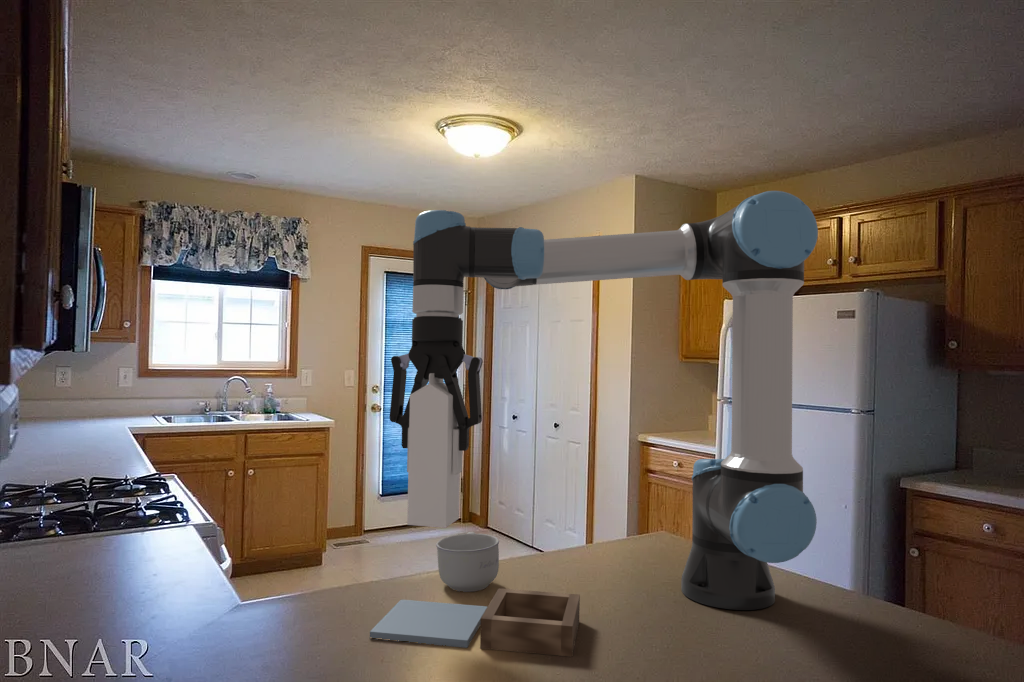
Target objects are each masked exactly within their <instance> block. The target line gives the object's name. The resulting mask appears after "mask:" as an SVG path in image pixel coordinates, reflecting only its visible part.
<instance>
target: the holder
mask: <svg viewBox="0 0 1024 682" xmlns="http://www.w3.org/2000/svg"><path fill="white" fill-rule="evenodd" d="M580 598H581V595H580V594H577V593H564V592H553V591H552V592H551V591H538V590H524V589H523V590H522V589H514V588H512V589H510V588H497V591H496V592H495V594H494V595H493V597H492V599H491V600H490V602H489V604H488V605H487V609H486V610H485V612H484V614H483V616H482V617H481V625H480V634H479V635H480V637H479V639H480V644H479V646H480V647H479V649H484V650H485V649H486V650H495V651H496V650H497V651H506V652H517V653H529V654H539V655H551V656H559V657H570V658H573V655H574V651H575V650H574V649H575V644H576V640H577V635H578V629H579V625H580V609H581V608H580V606H581V605H580V602H581V601H580V600H581V599H580Z"/></svg>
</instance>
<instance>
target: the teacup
mask: <svg viewBox="0 0 1024 682" xmlns="http://www.w3.org/2000/svg"><path fill="white" fill-rule="evenodd" d="M499 543H500V539H499V538H498V537H496V536H494V535H491V534H486V533H476V532H475V531H468V532H467V533H461V534H459V533H458V534H454V535H449V536H445V537H444V538H441V539H439V540H437V542H436V543H435V546H436V554H437V555H436V556H437V567H438V575H439V577H440V579H441V581H442V582H443V583H444V584H445V585H446V586H448V588H449V589H451V588H452V589H451V590H453V589H454V590H453V591H455V590H457V591H456V592H460V591H463V592H464V593H469V592H470V593H472V592H477V591H482V590H484V589H486V588H487V587H488V586H489V585H490V584H491V583H492V582H494V580H496V579H497V577H498V576H497V575H498V573H499V568H500V563H499V559H500V555H499V554H500V553H499V552H500V551H499V549H500V548H499ZM463 592H462V593H463Z"/></svg>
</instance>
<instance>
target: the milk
mask: <svg viewBox="0 0 1024 682" xmlns="http://www.w3.org/2000/svg"><path fill="white" fill-rule="evenodd" d="M410 394H411V393H410ZM410 394H409V397H410V417H409V466H408V472H407V474H408V476H407V477H408V479H407V481H408V482H407V520H406V521H407V522H406V523H407V524H406V525H407V526H418V527H429V528H430V527H431V528H441V529H442V528H444V529H446V528H447V527H449V526H450V525H452V524H453V523H455V522H456V521H457V520H459V519H460V477H461V472H460V473H459V474H452V465H453V429H456V428H458V427H457V426H458V423H457V420H456V416H455V413H454V409H453V395H451V394H450V393H449V392H448V389H447V386H446V384H445V382H444V379H439V378H436V377H434V373H430V374H429V382H428V383H427V385H426V386H424V387H422V388H421V389H419V390H417V391H416V392H414V393H412V394H411V395H410Z"/></svg>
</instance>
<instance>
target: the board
mask: <svg viewBox="0 0 1024 682" xmlns="http://www.w3.org/2000/svg"><path fill="white" fill-rule="evenodd" d="M487 607H488V605H486V606H485V605H475V604H474V605H473V604H460V603H451V602H447V603H446V602H436V601H423V600H412V599H400V600H399V601H398V602H397V603H396V604H395V605H394V606H393V607H392V608H390V610H389V611H388V612H387V613H386V615H384V616H383V617H382V618H381V619H380V620H379V621H378V622H377V624H375V626H373V627H372V629H370V630H369V638H370V637H372V638H382V639H390V640H397V641H396V642H399V641H409V642H408V643H410V642H418V643H417V644H421V643H426V644H425V645H431V644H434V646H442V645H443V646H444V647H455V648H456V647H457V648H465V649H468V647H470V643H471V642H472V640H473V639H474V636H475V635H476V634H477V631H478V630H479V628H481V617H482V616H483V614H484V612H485V610H486V609H487ZM398 640H399V641H398ZM445 645H446V646H445Z"/></svg>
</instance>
